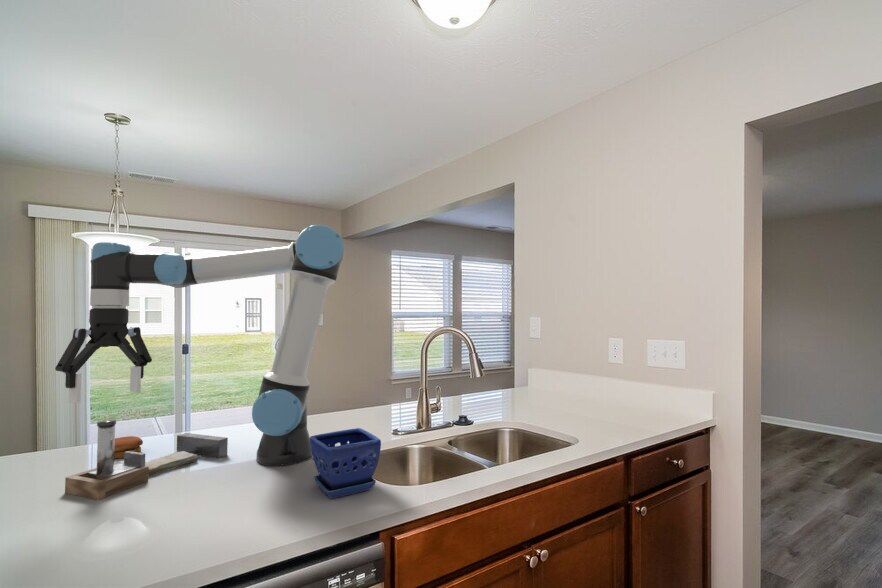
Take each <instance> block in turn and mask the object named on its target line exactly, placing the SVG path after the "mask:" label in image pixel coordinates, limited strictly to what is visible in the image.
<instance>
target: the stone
mask: <svg viewBox="0 0 882 588" xmlns="http://www.w3.org/2000/svg"><path fill="white" fill-rule="evenodd" d="M197 461H198V456H197V455H195V454H192V453H188V452H185V451H181V452H177V451H176V452H172V453H170V454H168V455H164V456H161V457H158V458H155V459H151V460H149V461H145V466H148V467H149V470H148V476H149V475H153V474H158V473H160V472H164V471H168V469H169V470H172V469H175V468H179V467H181V466H184V465H186V464H191V463H195V462H197Z"/></svg>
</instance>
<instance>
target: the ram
mask: <svg viewBox="0 0 882 588" xmlns="http://www.w3.org/2000/svg"><path fill="white" fill-rule="evenodd" d="M116 425H117V420H116V419H105V420H99V421H97V422H96V426H97V447H96V449H97V451H96V468H97V470H96V471H92V472H89V473H88V478H92V479H97V480H103V479H106V478H109V477H112V476H115V475H118V474H121V473H124V472H127V471H130V470H133V469H136V468H139V467H142V466H145V462H146V453H145V452H140V453H138V452H131V451H127V452H124V458H123V461H122V462H121V463H118V464H115V465H114V462H115V458H114V442H115V438H116V437H115V436H116V435H115V434H116Z"/></svg>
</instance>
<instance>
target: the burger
mask: <svg viewBox="0 0 882 588" xmlns="http://www.w3.org/2000/svg"><path fill="white" fill-rule="evenodd" d="M143 444H144V441H143V439H142V438H141V437H139V436H133V435H130V436H129V435H128V436H121V437H115V442H114V459H124V452H127V451H131V452H138V453H142V447H141V446H142V445H143Z"/></svg>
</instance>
